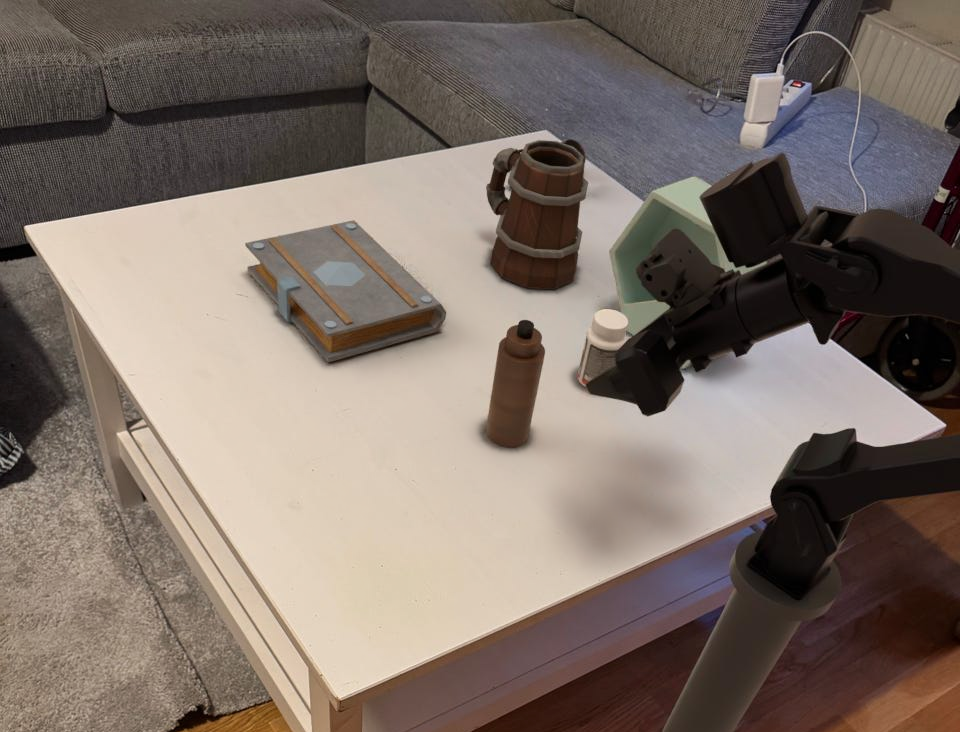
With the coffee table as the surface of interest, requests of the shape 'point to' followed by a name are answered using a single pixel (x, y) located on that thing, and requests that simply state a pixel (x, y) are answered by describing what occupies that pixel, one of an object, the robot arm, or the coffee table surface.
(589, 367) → the pill bottle
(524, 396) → the pepper mill
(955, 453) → the robot arm
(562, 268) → the mug
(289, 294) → the book
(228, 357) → the coffee table surface
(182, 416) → the coffee table surface
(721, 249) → the planter
